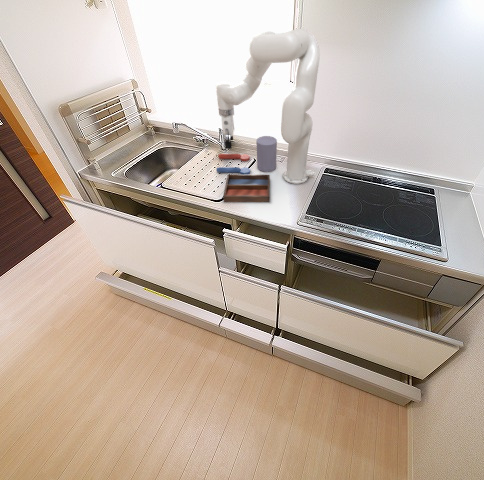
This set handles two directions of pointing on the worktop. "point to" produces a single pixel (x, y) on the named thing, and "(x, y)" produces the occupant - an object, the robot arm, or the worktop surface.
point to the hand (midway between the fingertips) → (229, 144)
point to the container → (266, 153)
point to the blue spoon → (233, 170)
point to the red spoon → (234, 156)
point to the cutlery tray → (247, 188)
